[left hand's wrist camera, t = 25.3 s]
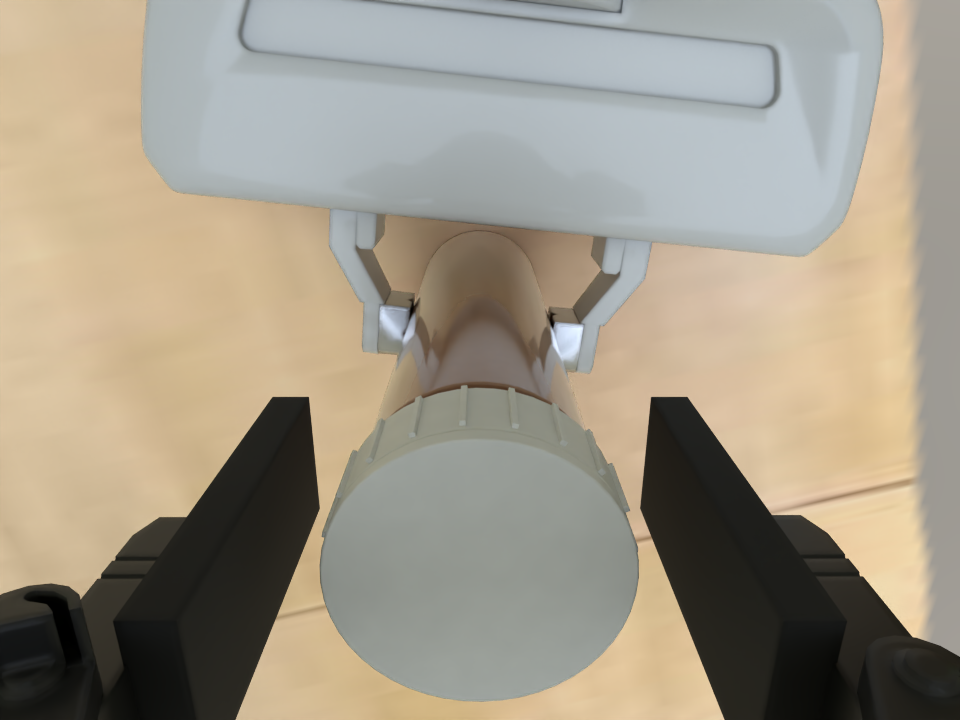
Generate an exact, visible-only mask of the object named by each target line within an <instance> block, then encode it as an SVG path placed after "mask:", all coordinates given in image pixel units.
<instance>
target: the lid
mask: <svg viewBox="0 0 960 720" xmlns="http://www.w3.org/2000/svg"><path fill="white" fill-rule="evenodd" d="M628 511H630V509H629V506H628V503H627V501H626V498H625V495H624V493H623V490H622V487H621V485H620V482H619V479H618V477H617V474H616V471H615V469H614V466H613V464H612V463H610V464H607V462H606V460H605V458H604V456H603V454H602V452H601V450H600V449H599V448H598V446H597V445H596V442H595V439H594V436H593V433H592V432H591V431H590V429H588V430H586V431H585V430H584V429H583V428H582V427H581V426H580V425H579V424H578V423H576V422H575V421H574V420H573V419H571V418H570V417H569V416H567V415H566V414H565V413H563V412H561V411H560V410H559V407H558V405H557V404H555V403H552V405H550V404H547V403H545V402H543V401H541V400H538V399H536V398H534V397H531V396H527V395H524V394H520V393H517V392H515V389H514V388H510V387H509V389H508V391H507V390H501V389H493V388H468V387H467V385H463V386H461V389H457V390H452V391H447V392H442V393H437V394H435V395H432V396H429V397H426V398H422V396H418V397H416V398H415V402H414V403H412V404H410V405H407V406H405V407H403V408H402V409H400V410H399V411H397V412H396V413H394V414H393V415H391V416H390V417H388V418H387V419H386V420H385V421H384V420H383V419H382V418H381V419H380V420H379V421H378V422H377V425H376V428H375V430H374V431H373V432H372V433H371V434H370V436H369V437H368V438H367V439H366V440H365V441H364V443H363V444H362V446H361V447H360V449H359V450H358V452H357V451H355V450H353V452H352V453H351V456H350V458H349V461H348V464H347V466H346V469H345V472H344V474H343V477H342V480H341V483H340V485H339V488H338V491H337V493H336V497H335V499H334V502H333V505H332V508H331V510H330V513H329V516H328V518H327V521H326V524H325V526H324V529H323V532H322V537H324V542H323V545H322V550H321V559H320V583H321V588H322V593H323V597H324V601H325V604H326V607H327V609H328V612H329V615H330V617H331V619H332V621H333V623H334V625H335V626H336V628H337V630H338V632H339V633H340V635H341V636H342V637H343V639H344V640H345V641H346V643H347V644H348V645H349V646H350V647H351V649H352V650H353V651H354V652H355V653H356V654H357V655H358V656H359V657H360V658H361V659H362V660H364V661H365V662H366V663H367V664H369V665H370V666H371V667H372V668H374V669H375V670H376V671H378V672H380V673H381V674H383V675H384V676H386V677H388V678H389V679H391V680H393V681H395V682H397V683H399V684H401V685H403V686H405V687H407V688H410V689H413V690H416V691H419V692H422V693H424V694H428V695H432V696H436V697H440V698H445V699H452V700H460V701H479V702H484V701H499V700H507V699H513V698H519V697H523V696H527V695H530V694H534V693H538V692H540V691H543V690H546V689H548V688H551V687H553V686H556V685H558V684H560V683H562V682H564V681H566V680H567V679H569V678H571V677H573V676H575V675H576V674H578V673H579V672H580V671H582V670H583V669H585V668H586V667H588V666H589V665H590V664H591V663H592V662H594V661H595V660H596V659H597V658H598V657H599V656H601V655H602V654H603V652H604V651H605V650H606V649H607V648H608V647H609V646H610V645H611V644H612V642H613V641H614V640H615V638H616V637H617V635H618V634H619V632H620V631H621V629H622V628H623V626H624V624H625V622H626V620H627V618H628V616H629V614H630V612H631V609H632V606H633V602H634V599H635V596H636V591H637V585H638V579H639V560H638V554H637V552H638V546H637V543H636V541H635V538H634V535H633V532H632V529H631V527H630V524H629V521H628V518H627V515H626V513H625V512H628Z"/></svg>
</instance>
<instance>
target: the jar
mask: <svg viewBox="0 0 960 720" xmlns="http://www.w3.org/2000/svg"><path fill="white" fill-rule="evenodd" d="M463 385H467V387H468V388H493V389H501V390H507V391H508V389H509V387H510V388H514V389H515V392H517V393H520V394H524V395H527V396H531V397H534V398H536V399H538V400H541V401H543V402H545V403H547V404H550V405H552V403H555V404H557V405H558V407H559V410H560V411H561V412H563V413H565V414H566V415H567V416H569V417H570V418H571V419H573V420H574V421H575V422H576V423H578V424H579V425H580V426H581V427H582V428H583V429H584V430H585V431H586V429H585V426H584V423H583V420H582V417H581V414H580V411H579V408H578V405H577V402H576V399H575V395H574V392H573V389H572V386H571V383H570V380H569V377H568V374H567V371H566V368H565V365H564V362H563V359H562V356H561V353H560V350H559V347H558V344H557V341H556V338H555V334H554V331H553V328H552V325H551V322H550V319H549V316H548V313H547V310H546V307H545V304H544V301H543V298H542V295H541V292H540V289H539V286H538V283H537V280H536V277H535V273H534V270H533V268H532V265H531V263H530V261H529V259H528V257H527V256H526V254H525V253H524V252H523V250H522V249H521V248H520V247H519V246H518V245H517V244H515V243H514V242H513V241H512V240H510V239H508V238H506V237H505V236H502V235H500V234H497V233H493V232H489V231H471V232H466V233H462V234H459V235H457V236H455V237H453V238H451V239H449V240H448V241H446V242H445V243H444V244H443V245H441V246H440V248H439V249H438V250H437V251H436V252H435V253H434V255H433V256H432V258H431V260H430V261H429V263H428V266H427V269H426V272H425V275H424V278H423V281H422V284H421V287H420V290H419V293H418V296H417V299H416V302H415V305H414V308H413V311H412V314H411V317H410V320H409V323H408V326H407V329H406V332H405V335H404V338H403V341H402V344H401V347H400V350H399V353H398V356H397V359H396V362H395V365H394V368H393V371H392V374H391V377H390V380H389V383H388V386H387V389H386V393H385V396H384V399H383V402H382V405H381V408H380V411H379V414H378V417H377V420H376V423H375V426H374V429H373V431H374V430H375V428H376V425H377V422H378V421H379V420H380V419H381V418H382V419H383V420H384V421H385V420H386V419H387V418H388V417H390V416H391V415H393V414H394V413H396V412H397V411H399V410H400V409H402V408H403V407H405V406H407V405H410V404H412V403H414V402H415V398H416V397H418V396H422V398H426V397H429V396H432V395H435V394H437V393H442V392H447V391H452V390H457V389H461V386H463Z"/></svg>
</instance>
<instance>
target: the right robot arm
mask: <svg viewBox="0 0 960 720" xmlns="http://www.w3.org/2000/svg"><path fill="white" fill-rule="evenodd" d="M882 53H883V24H882V17H881V12H880V8H879V5H878V2H877V0H147V5H146V16H145V27H144V38H143V55H142V74H141V132H142V145H143V150H144V153H145V155H146V157H147V159H148V160H149V162H150V163H151V164H152V166H153V167H154V168H155V170H156V171H157V172H158V174H159V175H160V176H161V178H162V179H163V180H164V182H165V183H166V184H167V185H168V186H169V187H170V188H171V189H172V190H173V191H175V192H178V193H184V194H192V195H202V196H212V197H221V198H231V199H241V200H250V201H260V202H270V203H279V204H289V205H299V206H308V207H318V208H328V209H330V233H329V247H330V249H331V250H332V252H333V254H334V256H335V258H336V259H337V261H338V263H339V265H340V267H341V269H342V270H343V272H344V274H345V276H346V278H347V279H348V281H349V283H350V285H351V287H352V289H353V290H354V292H355V294H356V296H357V298H358V300H359V301H360V302H364V311H363V335H362V349H363V352H368V353H375V354H378V353H381V354H394V355H398V353H399V350H400V347H401V344H402V341H403V338H404V335H405V332H406V329H407V326H408V323H409V320H410V317H411V314H412V311H413V308H414V300H415V293H408V292H399V291H391V288H390V286H389V283H388V281H387V279H386V277H385V275H384V273H383V271H382V269H381V267H380V265H379V263H378V261H377V259H376V256H375V254H374V252H373V250H372V249H373V248H374V247H375V246H376V244H377V243H378V242H379V240H380V239H381V238H382V237H383V235H384V229H385V214H386V215H395V216H405V217H415V218H424V219H434V220H444V221H453V222H463V223H472V224H482V225H492V226H501V227H511V228H521V229H530V230H540V231H550V232H559V233H569V234H579V235H588V236H594V239H593V245H592V252H591V256H592V258H593V259H594V260H595V262H596V263H597V264H598V266H599V267H600V268H601V271H600V272H599V274H598V275H597V276H596V277H595V279H594V280H593V281H592V283H591V284H590V285H589V287H588V288H587V289H586V290H585V292H584V293H583V294H582V296H581V297H580V298H579V300H578V301H577V302H576V304H575V305H574V306H573V309H572V308H559V307H549V312H548V316H549V319H550V322H551V325H552V328H553V331H554V334H555V338H556V341H557V344H558V347H559V350H560V353H561V356H562V359H563V362H564V365H565V368H566V371H567V372H575V373H585V374H589V373H590V372H591V370H592V367H593V363H594V357H595V351H596V345H597V340H598V334H599V328H600V326H604V325H605V324H606V323H607V322H608V321H609V320H610V318H611V317H612V316H613V315H614V314H615V313H616V311H617V310H618V309H619V308H620V307H621V306H622V304H623V303H624V302H625V301H626V300H627V299H628V298H629V296H630V295H631V294H632V293H633V292H634V291H635V289H636V288H637V287H638V286H639V285H640V284H641V283H642V281H643V280H644V279H645V275H646V270H647V265H648V260H649V255H650V250H651V245H652V242H656V243H666V244H675V245H685V246H695V247H704V248H714V249H724V250H733V251H743V252H753V253H762V254H772V255H782V256H792V257H804V256H807V255H809V254H810V253H811V252H813V251H814V250H815V249H816V248H818V247H819V246H820V245H821V244H822V243H823V242H824V241H826V240H827V239H828V238H829V237H830V236H831V235H832V234H833V233H834V232H835V231H836V230H837V229H838V228H839V227H840V226H841V224H842V223H843V221H844V219H845V217H846V214H847V212H848V209H849V206H850V203H851V200H852V197H853V194H854V190H855V187H856V183H857V179H858V176H859V172H860V168H861V164H862V160H863V156H864V152H865V148H866V143H867V139H868V135H869V130H870V125H871V120H872V115H873V110H874V105H875V99H876V94H877V88H878V82H879V76H880V69H881V63H882Z"/></svg>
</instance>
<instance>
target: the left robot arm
mask: <svg viewBox="0 0 960 720" xmlns="http://www.w3.org/2000/svg"><path fill="white" fill-rule="evenodd" d="M319 509H320V507H319V496H318V486H317V476H316V466H315V455H314V445H313V435H312V425H311V415H310V404H309V397H272V399H271V400H270V402H269V403H268V404H267V406H266V407H265V409H264V410H263V411H262V413H261V414H260V416H259V417H258V418H257V420H256V421H255V423H254V424H253V425H252V427H251V428H250V429H249V431H248V432H247V434H246V435H245V436H244V438H243V439H242V441H241V442H240V443H239V445H238V446H237V448H236V449H235V450H234V452H233V453H232V455H231V456H230V457H229V459H228V460H227V462H226V463H225V464H224V466H223V467H222V469H221V470H220V471H219V473H218V474H217V476H216V477H215V478H214V480H213V481H212V483H211V484H210V485H209V487H208V488H207V490H206V491H205V492H204V494H203V495H202V497H201V498H200V499H199V501H198V502H197V504H196V505H195V506H194V508H193V509H192V511H191V512H190V513H189V515H188V516H187V517H159V518H158V519H156V520H155V521H153V522H152V523H150V524H149V525H148V526H146V527H145V528H143V529H142V530H140V531H139V532H137V533H136V534H134V535H133V536H132V537H131V538H130V539H129V541H128V542H127V543H126V544H125V546H124V547H123V548H122V549H121V551H120V552H119V553H118V554H117V556H116V559H115V561H112V562H111V563H110V564H109V565H108V567H107V568H106V569H105V570H104V572H103V573H102V574H101V579H97V580H96V581H95V583H94V584H93V585H92V586H91V588H90V589H89V590H88V591H87V593H86V594H85V595H84V596H83V597H82V599H81V600H80V596H79V594H78V593H76V592H75V591H74V590H73V589H71V588H70V587H68V586H63V585H57V584H42V585H33V586H27V587H23V588H20V589H17V590H13V591H10V592H7V593H4V594H2V595H0V720H235V719H236V717H237V714H238V712H239V709H240V707H241V704H242V702H243V699H244V697H245V694H246V692H247V689H248V687H249V684H250V682H251V679H252V677H253V674H254V672H255V669H256V667H257V664H258V662H259V659H260V657H261V654H262V652H263V649H264V647H265V644H266V642H267V639H268V637H269V634H270V632H271V629H272V627H273V624H274V622H275V619H276V617H277V614H278V612H279V609H280V607H281V604H282V602H283V599H284V597H285V594H286V592H287V589H288V587H289V584H290V582H291V579H292V577H293V574H294V572H295V569H296V567H297V564H298V562H299V559H300V557H301V554H302V552H303V549H304V547H305V544H306V542H307V539H308V537H309V534H310V532H311V529H312V527H313V524H314V522H315V519H316V517H317V514H318V512H319ZM640 509H641V512H642V514H643V517H644V519H645V522H646V524H647V527H648V529H649V532H650V534H651V537H652V539H653V542H654V544H655V547H656V549H657V552H658V554H659V557H660V559H661V562H662V564H663V567H664V569H665V572H666V574H667V577H668V579H669V582H670V584H671V587H672V589H673V592H674V594H675V597H676V599H677V602H678V604H679V607H680V609H681V612H682V614H683V617H684V619H685V622H686V624H687V627H688V629H689V632H690V634H691V637H692V639H693V642H694V644H695V647H696V649H697V652H698V654H699V657H700V659H701V662H702V664H703V667H704V669H705V672H706V674H707V677H708V679H709V682H710V684H711V687H712V689H713V692H714V694H715V697H716V699H717V702H718V704H719V707H720V709H721V712H722V714H723V717H724V719H725V720H960V657H959V656H957V655H956V654H954V653H952V652H950V651H948V650H947V649H945V648H943V647H941V646H939V645H936V644H933V643H930V642H927V641H924V640H921V639H918V638H913V637H912V636H911V635H910V634H909V632H908V631H907V630H906V629H905V627H904V626H903V625H902V624H901V623H900V621H899V620H898V619H897V618H896V616H895V615H894V614H893V613H892V612H891V610H890V609H889V608H888V607H887V605H886V604H885V603H884V602H883V600H882V599H881V598H880V597H879V596H878V594H877V593H876V592H875V591H874V589H873V588H872V587H871V586H870V585H869V583H868V582H867V581H866V580H865V578H864V577H860V575H859V571H858V570H857V569H856V567H855V566H854V565H853V564H852V562H851V561H850V560H849V559H846V558H845V554H844V553H843V551H842V550H841V549H840V548H839V547H838V545H837V544H836V543H835V542H834V540H833V539H832V538H831V537H830V536H829V534H828V533H826V532H825V531H824V530H822V529H821V528H819V527H818V526H816V525H815V524H813V523H812V522H810V521H809V520H807V519H806V518H804V517H803V516H801V515H771V513H770V512H769V511H768V509H767V508H766V506H765V505H764V504H763V502H762V501H761V499H760V498H759V497H758V495H757V494H756V492H755V491H754V490H753V488H752V487H751V485H750V484H749V483H748V481H747V480H746V478H745V477H744V476H743V474H742V473H741V471H740V470H739V469H738V467H737V466H736V464H735V463H734V462H733V460H732V459H731V457H730V456H729V455H728V453H727V452H726V450H725V449H724V448H723V446H722V445H721V443H720V442H719V441H718V439H717V438H716V436H715V435H714V434H713V432H712V431H711V429H710V428H709V427H708V425H707V424H706V423H705V421H704V420H703V418H702V417H701V416H700V414H699V413H698V411H697V410H696V409H695V407H694V406H693V404H692V403H691V402H690V400H689V399H688V397H651V404H650V415H649V425H648V435H647V445H646V455H645V466H644V476H643V486H642V496H641V506H640Z"/></svg>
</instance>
